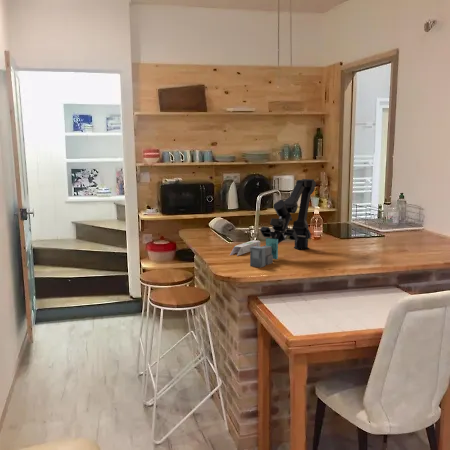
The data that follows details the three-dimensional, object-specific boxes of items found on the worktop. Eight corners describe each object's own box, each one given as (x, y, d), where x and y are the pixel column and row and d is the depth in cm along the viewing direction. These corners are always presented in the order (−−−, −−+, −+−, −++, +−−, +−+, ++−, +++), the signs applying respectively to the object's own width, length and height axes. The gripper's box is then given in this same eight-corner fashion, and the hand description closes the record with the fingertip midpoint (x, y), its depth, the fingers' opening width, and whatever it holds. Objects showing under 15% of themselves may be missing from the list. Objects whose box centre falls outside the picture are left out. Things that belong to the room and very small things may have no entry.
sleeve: (262, 261, 249) (262, 245, 247) (273, 262, 245) (273, 246, 244) (256, 263, 244) (256, 247, 242) (267, 265, 240) (267, 248, 239)
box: (260, 248, 282) (234, 257, 258) (253, 247, 284) (226, 256, 261) (260, 240, 281) (234, 249, 258) (253, 240, 283) (226, 248, 260)
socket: (254, 264, 242) (254, 246, 241) (265, 265, 239) (265, 247, 237) (250, 265, 239) (250, 247, 237) (261, 267, 235) (261, 248, 234)
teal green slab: (267, 257, 252) (267, 237, 251) (277, 258, 249) (277, 239, 247) (253, 262, 241) (253, 242, 240) (264, 264, 238) (264, 243, 237)
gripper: (261, 211, 257) (250, 235, 250) (295, 213, 247) (284, 238, 239) (269, 224, 265) (258, 248, 257) (301, 227, 254) (291, 252, 247)
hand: (272, 246), depth 250 cm, fingers closed, pressing on teal green slab
